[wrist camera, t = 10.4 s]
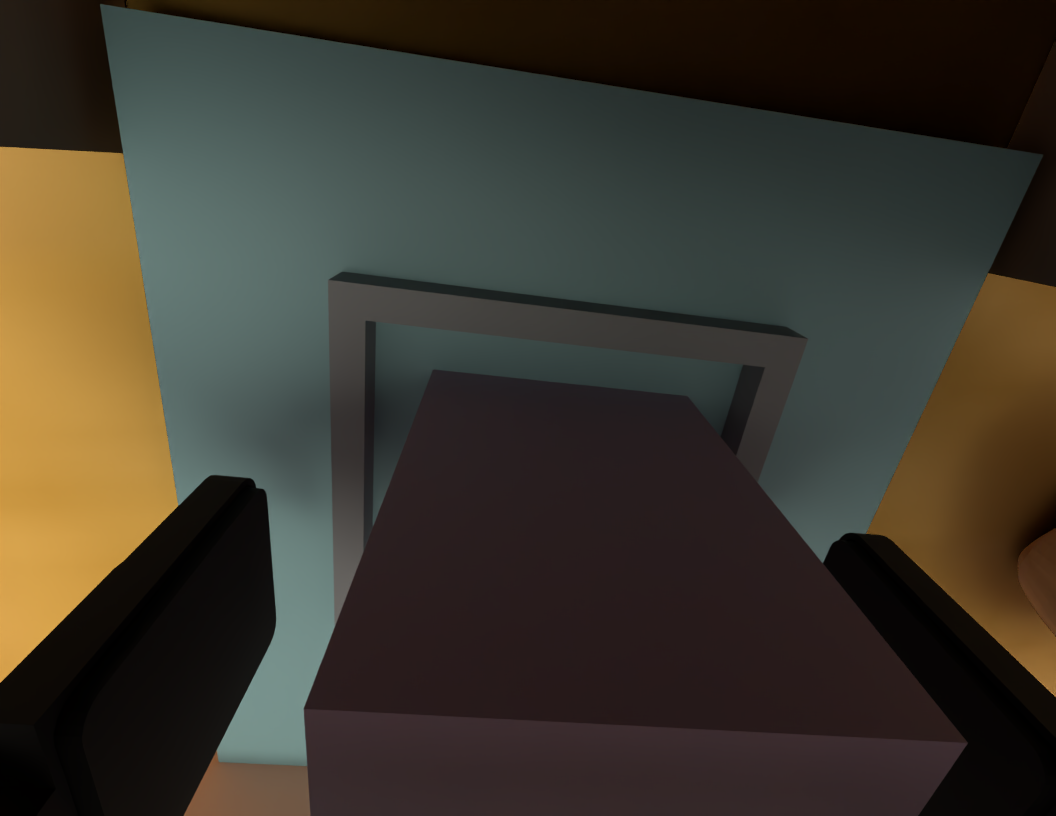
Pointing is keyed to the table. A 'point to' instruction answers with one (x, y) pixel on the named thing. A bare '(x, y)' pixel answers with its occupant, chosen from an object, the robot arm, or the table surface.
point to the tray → (513, 289)
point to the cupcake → (1040, 576)
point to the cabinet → (92, 125)
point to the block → (602, 631)
